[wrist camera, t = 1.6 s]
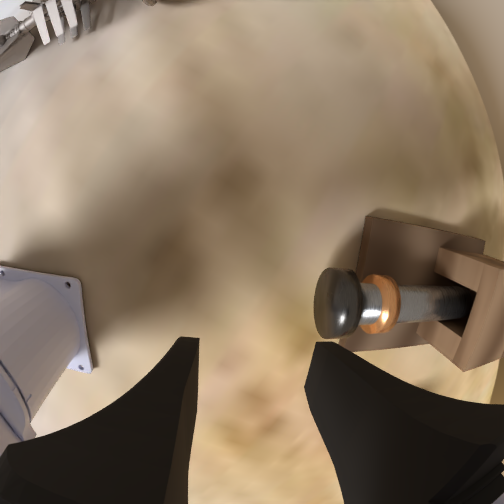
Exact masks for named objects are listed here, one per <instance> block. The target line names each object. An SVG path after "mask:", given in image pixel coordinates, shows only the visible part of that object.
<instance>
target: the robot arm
mask: <svg viewBox="0 0 504 504" xmlns="http://www.w3.org/2000/svg"><path fill="white" fill-rule="evenodd" d="M3 271H4V272H3ZM4 273H5V274H4ZM67 282H69V283H70V285H71V287H69V286H68V284H67ZM81 365H82V366H83V367H82V366H81ZM66 368H68V369H72V370H76V371H80V372H84V373H91V372H92V371H93V364H92V359H91V354H90V349H89V343H88V337H87V331H86V324H85V316H84V308H83V298H82V287H81V282H80V281H79V280H78V279H77V278H74V277H67V276H60V275H53V274H47V273H41V272H35V271H29V270H23V269H17V268H11V267H6V266H1V265H0V504H188V470H189V461H190V454H191V447H192V440H193V434H194V427H195V421H196V414H197V400H198V368H199V338H192V337H179V338H178V339H177V340H176V342H175V343H174V344H173V346H172V347H171V348H170V350H169V351H168V352H167V353H166V354H165V356H164V357H163V358H162V359H161V360H160V361H159V362H158V363H157V365H156V366H155V367H154V368H153V369H152V370H151V371H150V372H149V373H148V374H147V375H146V376H145V377H144V378H142V379H141V380H140V381H139V382H138V383H137V384H136V385H135V386H134V387H133V388H131V389H130V390H129V391H128V392H126V393H125V394H124V395H123V396H121V397H120V398H118V399H117V400H116V401H114V402H113V403H111V404H110V405H108V406H107V407H105V408H103V409H102V410H100V411H99V412H97V413H95V414H93V415H92V416H90V417H88V418H86V419H84V420H82V421H80V422H78V423H76V424H73V425H71V426H69V427H67V428H64V429H61V430H59V431H56V432H54V433H51V434H48V435H45V436H41V437H37V438H35V437H36V432H35V431H34V430H33V428H32V426H31V424H30V423H31V421H32V419H33V418H34V416H35V415H36V413H37V411H38V410H39V408H40V407H41V405H42V403H43V402H44V400H45V399H46V397H47V396H48V394H49V393H50V391H51V390H52V388H53V387H54V385H55V384H56V382H57V381H58V379H59V378H60V376H61V375H62V373H63V372H64V371H65V369H66ZM304 388H305V392H306V397H307V401H308V404H309V408H310V411H311V413H312V416H313V418H314V420H315V423H316V425H317V427H318V430H319V432H320V434H321V436H322V439H323V441H324V443H325V445H326V448H327V450H328V452H329V454H330V457H331V459H332V462H333V464H334V467H335V470H336V474H337V477H338V481H339V484H340V488H341V492H342V496H343V500H344V504H504V476H503V475H502V474H501V473H502V472H503V471H504V464H503V463H502V460H503V459H504V405H498V404H482V403H474V402H468V401H462V400H457V399H453V398H450V397H446V396H442V395H439V394H435V393H432V392H429V391H427V390H424V389H421V388H419V387H416V386H414V385H411V384H409V383H407V382H405V381H402V380H400V379H398V378H396V377H394V376H392V375H390V374H389V373H387V372H385V371H383V370H381V369H379V368H378V367H376V366H374V365H372V364H371V363H369V362H367V361H366V360H364V359H362V358H361V357H359V356H357V355H356V354H354V353H352V352H351V351H349V350H347V349H346V348H344V347H342V346H340V345H338V344H337V343H334V342H332V341H331V342H316V344H315V349H314V352H313V356H312V360H311V364H310V368H309V372H308V375H307V379H306V382H305V386H304Z"/></svg>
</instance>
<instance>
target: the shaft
mask: <svg viewBox="0 0 504 504" xmlns="http://www.w3.org/2000/svg"><path fill="white" fill-rule="evenodd" d="M471 305H472V298H471V294H470V292H469V290H468V289H467V288H465V287H462V286H424V285H397V283H396V281H395V280H394V279H393V278H392V277H390V276H388V275H375V274H372V275H369V276H367V277H366V278H365V279H364V280H363V282H362V283H360V281H359V279H358V277H357V275H356V274H355V272H353V271H352V270H349V269H338V268H327V269H325V270H324V271H323V272H322V274H321V275H320V277H319V280H318V282H317V286H316V290H315V296H314V319H315V324H316V328H317V331H318V333H319V334H320V336H321V337H322V338H324V339H340V338H348V337H350V336H351V335H352V334H353V333H354V332H355V331H356V329H357V327H358V325H360V326H361V328H362V329H363V331H365V332H366V333H368V334H376V333H386V332H389V331H390V330H391V329H392V328H393V327H394V326H395V324H397V323H413V322H427V321H438V320H449V319H459V318H463V317H465V316H466V315H467V314H468V313H469V311H470V309H471Z"/></svg>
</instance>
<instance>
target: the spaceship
mask: <svg viewBox="0 0 504 504" xmlns="http://www.w3.org/2000/svg"><path fill="white" fill-rule="evenodd" d="M94 1H96V0H33V2H27V1H26V2H24V3H23V4H22V5H20V7H21V8H20V9H25V10H29V11H30V12H29V13H32V14H31V16H29V17H28V18H26V19H25V20H24V21H19V22H18V20H17V19H16V18H15V17H9V18H5V19H2V20H0V71H2V70H4V69H6V68H8V67H10V66H12V65H14V64H16V63H18V62H21V61H23V60H25V58H26V56H27V54H28V52H29V50H30V47H31V45H32V43H33V41H34V39H35V38H34V37H33V35H32V34H31V33H30V32H29V30H31V29H32V28H33V27H35V26H36V25H37V27H38V30H39V33H40V36H41V39H42V41H43V44H44V45H46V44H47V43H49V42H50V38H49V34H48V30H47V26H46V22H47V21H49V20H51V22H52V25H53V28H54V31H55V34H56V36H57V37H58V42H59V46H60V45H62V44H63V43H65V31H64V16H65V17H67V20H68V23H69V27H70V34H71V38H73V37H75V36H77V35H78V31H77V16H76V10H80V9H81V15H82V21H83V27H84V31H85V30H87V29H89V28H91V21H90V7H89V3H92V2H94ZM142 1H143V2H144V3H145V4H146V5H148V6H153V5H155V4H156V3H157V1H158V0H142ZM20 22H21V23H20Z"/></svg>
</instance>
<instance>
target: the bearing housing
mask: <svg viewBox="0 0 504 504" xmlns="http://www.w3.org/2000/svg"><path fill="white" fill-rule="evenodd" d="M484 245H485V241H484V240H481V239H477V238H473V237H469V236H465V235H460V234H456V233H451V232H447V231H442V230H437V229H433V228H428V227H423V226H418V225H413V224H408V223H402V222H397V221H392V220H386V219H380V218H375V217H369V216H366V218H365V224H364V231H363V237H362V243H361V248H360V254H359V259H358V264H357V269H356V275H357V277H358V279H359V281H360V283H362V282H363V280H364V279H365V278H366V277H367V276H369V275H372V274H375V275H388V276H390V277H392V278H393V279H394V280H395V281H396V283H397V285H424V286H462V287H465V288H467V289H468V290H469V292H470V294H471V298H472V305H471V309H470V311H469V313H468V314H467V315H466V316H465V317H463V318H459V319H449V320H438V321H427V322H413V323H397V324H395V326H394V327H393V328H392V329H391V330H390V331H389V332H386V333H376V334H368V333H366V332H365V331H363V329H362V328H361V326H360V325H358V327H357V329H356V331H355V332H354V333H353V334H352V335H351V336H350V337H348V338H340V340H339V344H338V345H340V346H342V347H344V348H346V349H347V350H349V351H351V352H358V351H370V350H381V349H391V348H400V347H408V346H416V345H423V344H431V345H432V346H433V347H434V348H435V349H437V350H438V351H439V352H440V353H442V354H443V355H444V356H445V357H446V358H448V359H449V360H450V361H451V362H452V363H454V364H455V365H456V366H457V367H458V368H460V369H461V370H462V371H463V372H465V371H468V370H471V369H474V368H477V367H479V366H482V365H485V364H487V363H490V362H492V361H495V360H497V359H500V358H502V357H504V262H503V261H500V260H497V259H495V258H492V257H489V256H486V255H483V251H484Z"/></svg>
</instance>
